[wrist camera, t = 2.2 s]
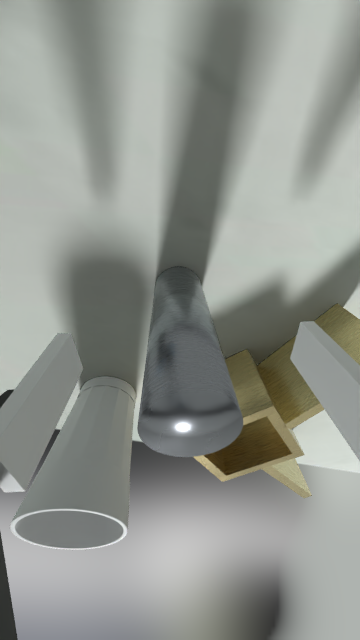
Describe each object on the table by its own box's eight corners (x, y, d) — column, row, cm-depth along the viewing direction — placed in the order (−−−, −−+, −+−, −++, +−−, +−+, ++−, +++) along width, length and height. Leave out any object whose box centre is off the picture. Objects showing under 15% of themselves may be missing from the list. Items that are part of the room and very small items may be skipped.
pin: (145, 282, 19) (115, 421, 8) (185, 257, 18) (212, 375, 7) (171, 316, 21) (174, 466, 10) (209, 295, 20) (259, 435, 9)
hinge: (174, 381, 26) (175, 442, 20) (340, 301, 21) (409, 349, 15) (241, 454, 34) (257, 511, 28) (369, 409, 30) (419, 466, 24)
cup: (150, 411, 28) (140, 542, 18) (89, 421, 29) (46, 554, 19) (131, 365, 24) (103, 501, 14) (60, 377, 25) (-17, 518, 14)
